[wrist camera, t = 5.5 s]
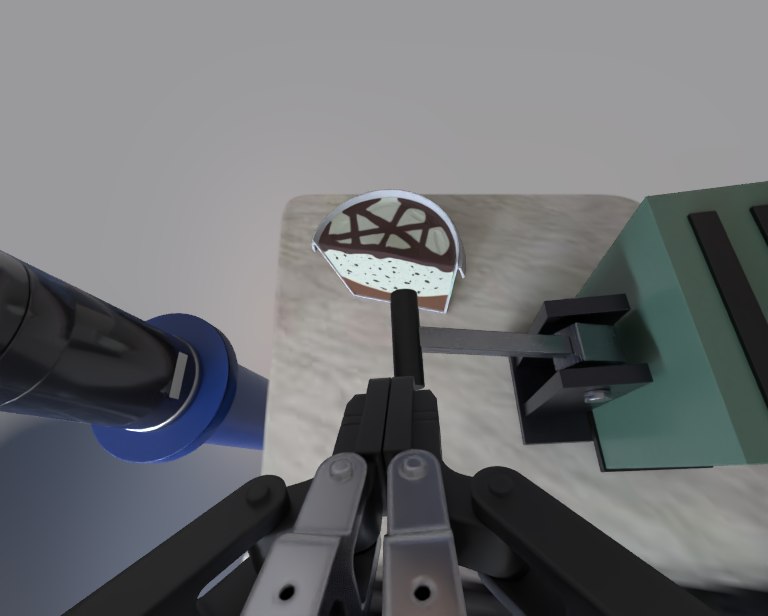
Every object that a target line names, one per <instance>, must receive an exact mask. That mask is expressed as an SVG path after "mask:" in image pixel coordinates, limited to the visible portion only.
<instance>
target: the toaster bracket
mask: <svg viewBox="0 0 768 616" xmlns="http://www.w3.org/2000/svg"><path fill="white" fill-rule="evenodd" d="M630 309H631V308H630V305H629V302H628V299H627V296H626V294H614V295H604V296H593V297H575V298H570V299H562V300H552V301H544V303H543V305H542V307H541V309H540V310H539V312H538V314H537V316H536V318H535V320H534V322H533V324H532V325H531V327H530V329H529V331H528V333H529V334H544V335H552V334H554V333H556V332H558V331H560V330H562V329H564V328H566V327H568V326H570V325H572V324H574V323H589V324H602V325H614V324H615V323H616V322H617V321H619V320H620V319H621V318H622V317H623V316H624V315H625V314H626V313H627V312H628V311H629V310H630ZM509 362H510V368H511V374H512V380H513V386H514V391H515V397H516V403H517V409H518V415H519V421H520V427H521V432H522V438H523V444H524V445H535V444H555V443H574V442H590V441H593V437H592V433H591V429H590V425H589V420H588V416H587V412H588V411H590V410H593V409H595V408H597V407H599V406H601V405H604V404H606V403H608V402H610V401H612V400H615V399H617V398H619V397H621V396H623V395H626V394H628V393H630V392H632V391H634V390H637V389H639V388H641V387H643V386H645V385H648V384H650V383H652V382H653V378H652V375H651V372H650V369H649V366H648V363H641V364H628V365H615V366H601V367H588V368H574V369H561V370H559V371H556V369H555V364H554V360H553V358H534V357H512V356H509Z"/></svg>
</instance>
